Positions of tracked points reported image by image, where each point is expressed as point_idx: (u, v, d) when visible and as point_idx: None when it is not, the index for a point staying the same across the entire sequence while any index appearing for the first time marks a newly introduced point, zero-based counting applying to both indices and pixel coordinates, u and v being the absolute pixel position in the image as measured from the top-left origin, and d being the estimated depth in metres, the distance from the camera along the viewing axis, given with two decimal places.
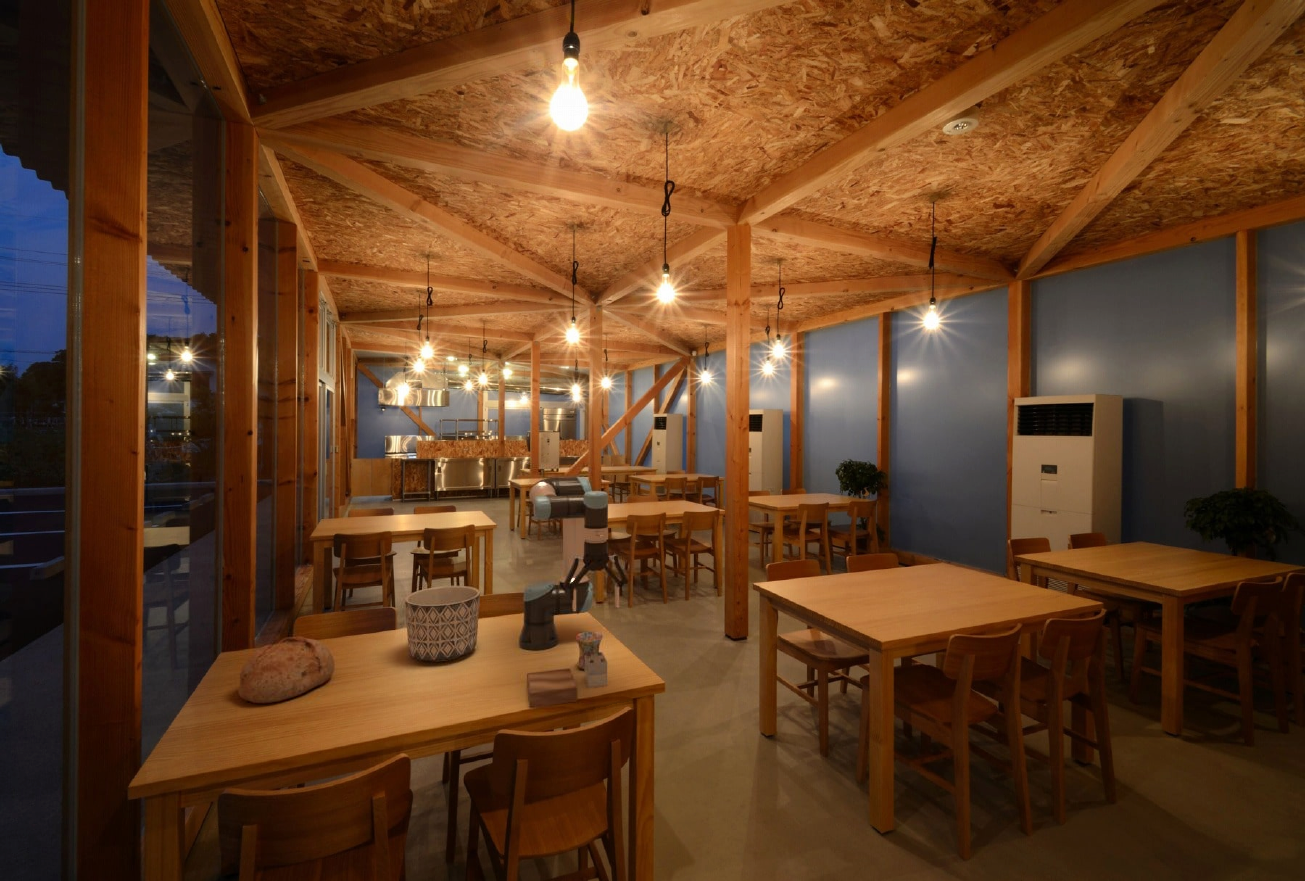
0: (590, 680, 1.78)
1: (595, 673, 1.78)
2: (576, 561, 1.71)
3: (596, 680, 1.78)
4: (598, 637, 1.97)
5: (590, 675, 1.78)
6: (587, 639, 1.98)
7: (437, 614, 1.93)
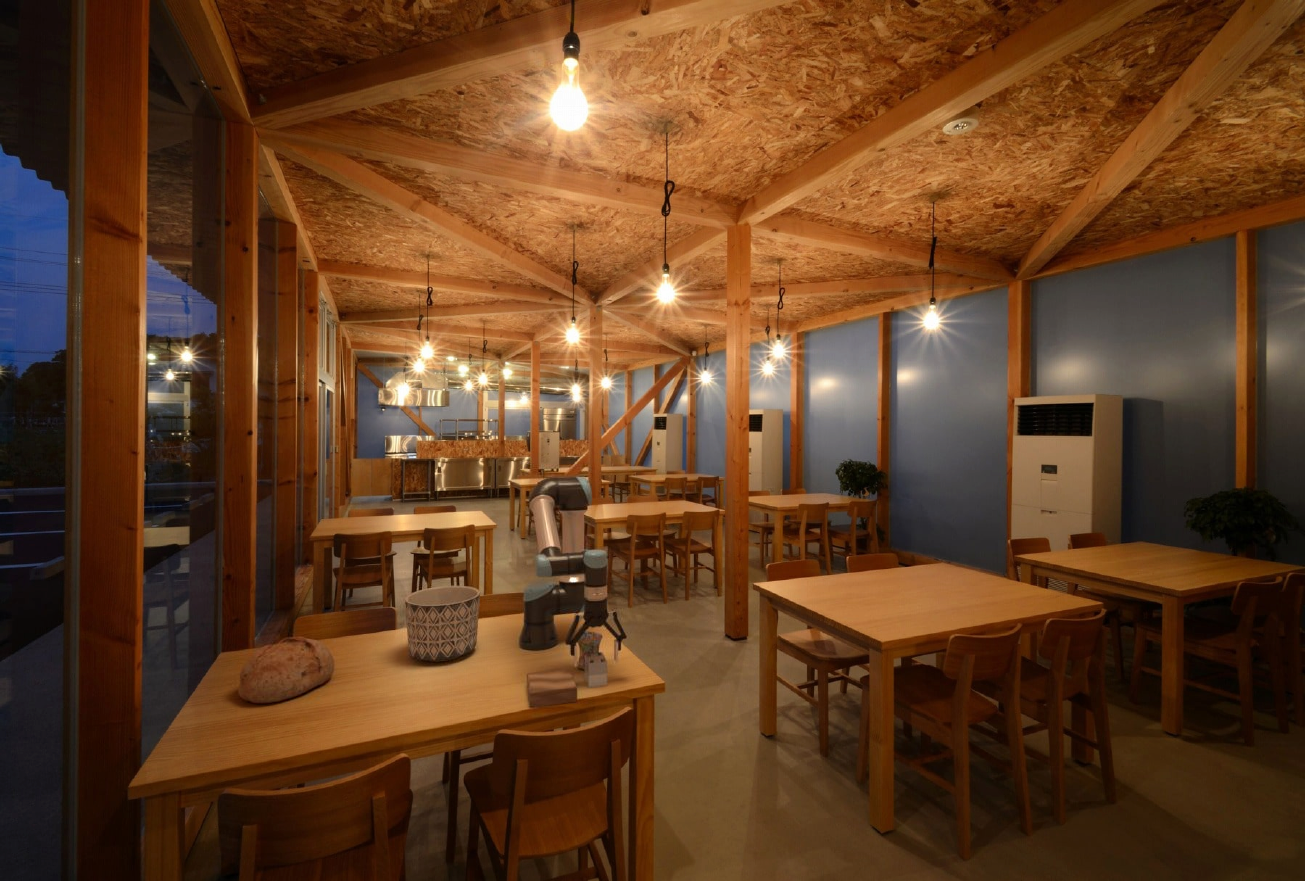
0: (590, 680, 1.78)
1: (595, 673, 1.78)
2: (577, 618, 1.79)
3: (596, 680, 1.78)
4: (598, 637, 1.97)
5: (590, 675, 1.78)
6: (587, 639, 1.98)
7: (437, 614, 1.93)
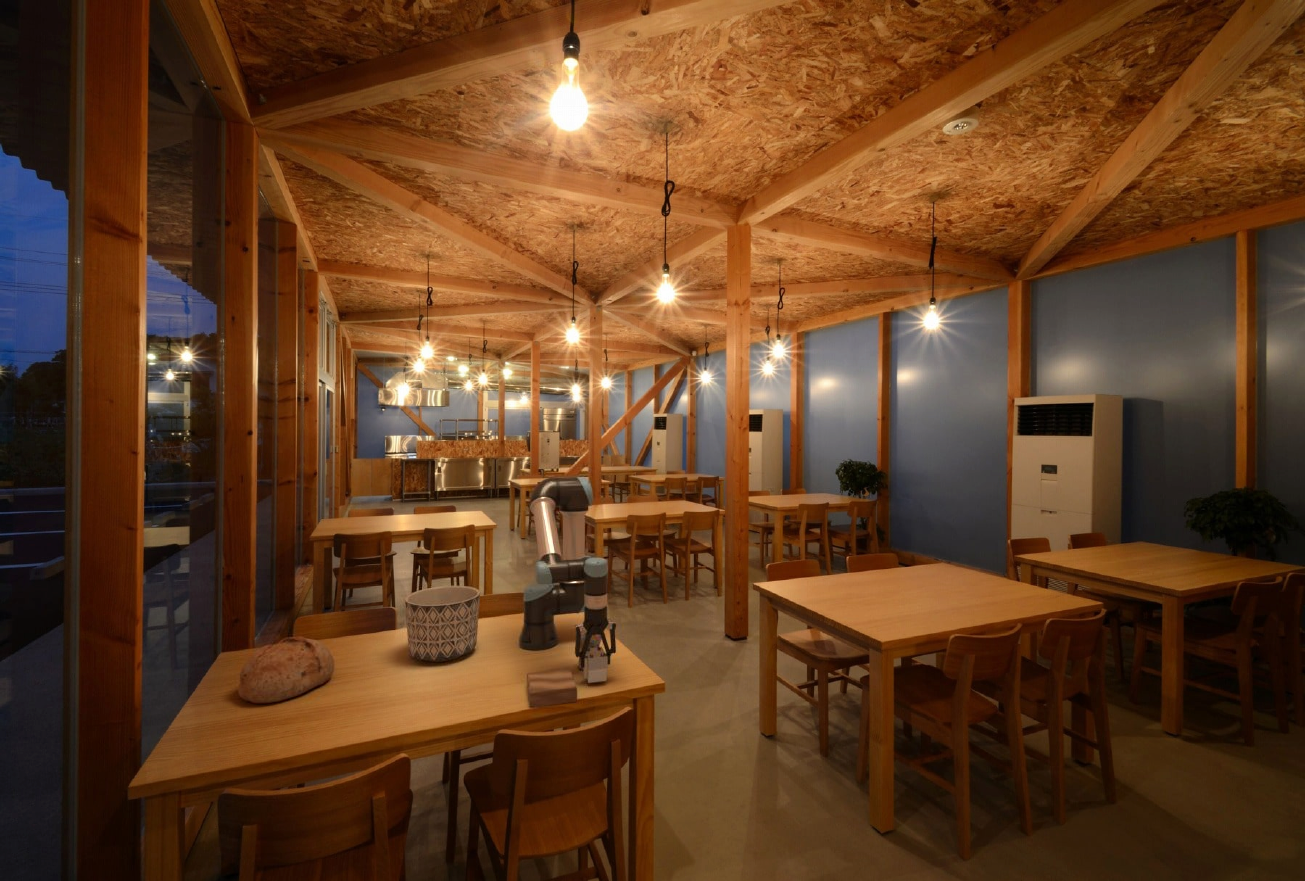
0: (590, 675, 1.78)
1: (595, 668, 1.79)
2: (577, 630, 1.80)
3: (596, 674, 1.79)
4: (598, 637, 1.97)
5: (590, 670, 1.78)
6: None
7: (437, 614, 1.93)
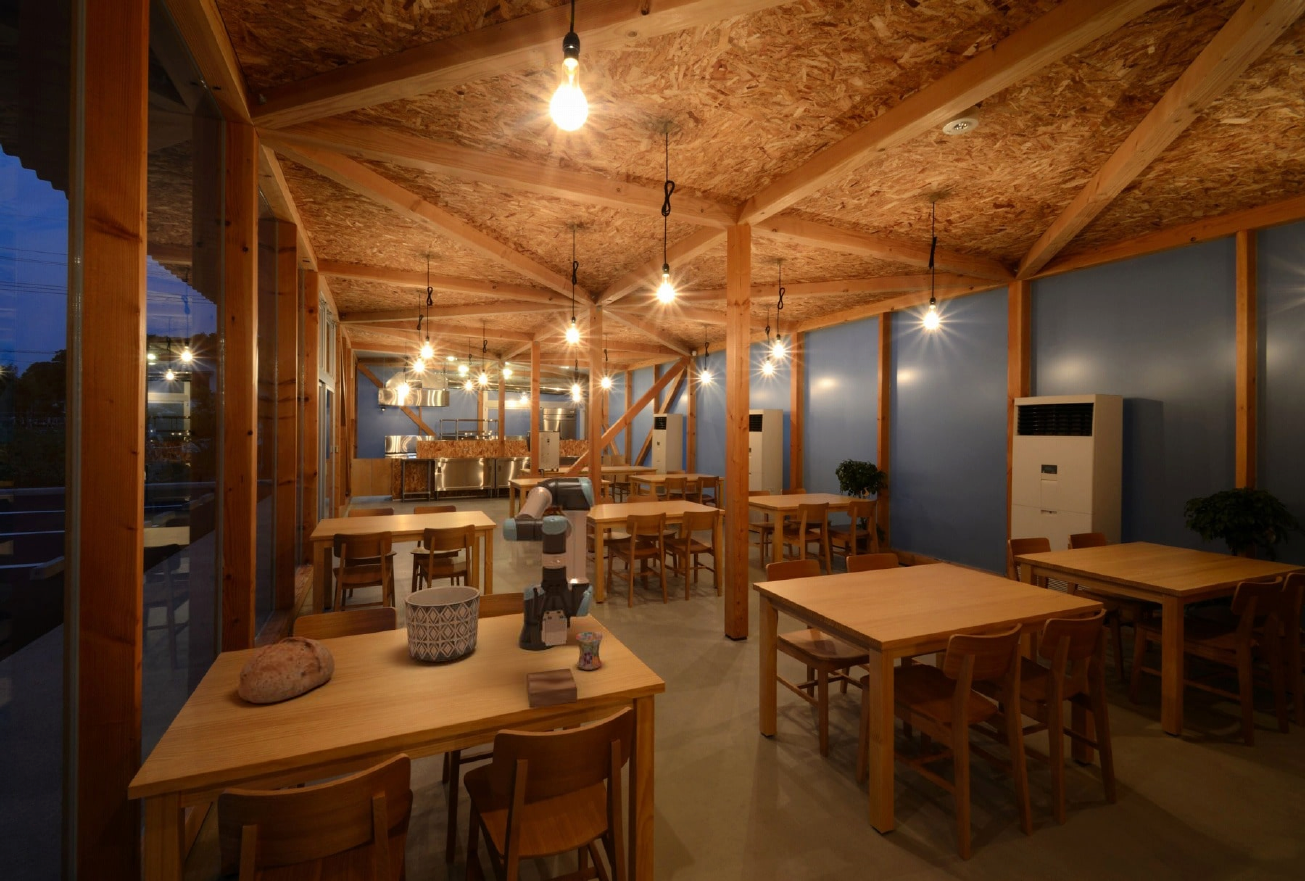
0: (548, 637, 1.70)
1: (553, 630, 1.70)
2: (535, 591, 1.71)
3: (554, 637, 1.70)
4: (598, 637, 1.97)
5: (548, 632, 1.70)
6: (587, 639, 1.98)
7: (437, 614, 1.93)
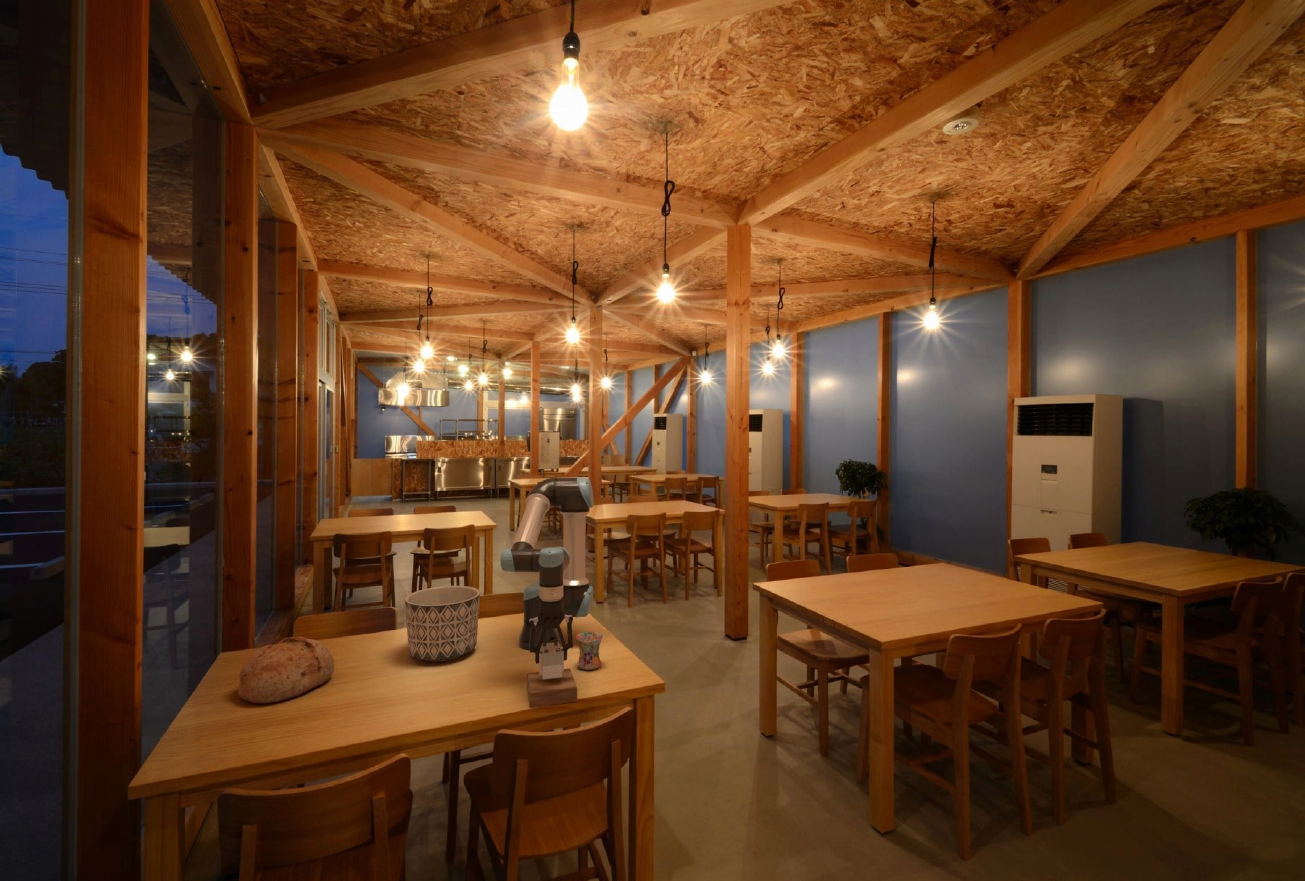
0: (544, 671, 1.69)
1: (550, 663, 1.70)
2: (531, 624, 1.71)
3: (551, 670, 1.70)
4: (598, 637, 1.97)
5: (544, 665, 1.69)
6: (587, 639, 1.98)
7: (437, 614, 1.93)
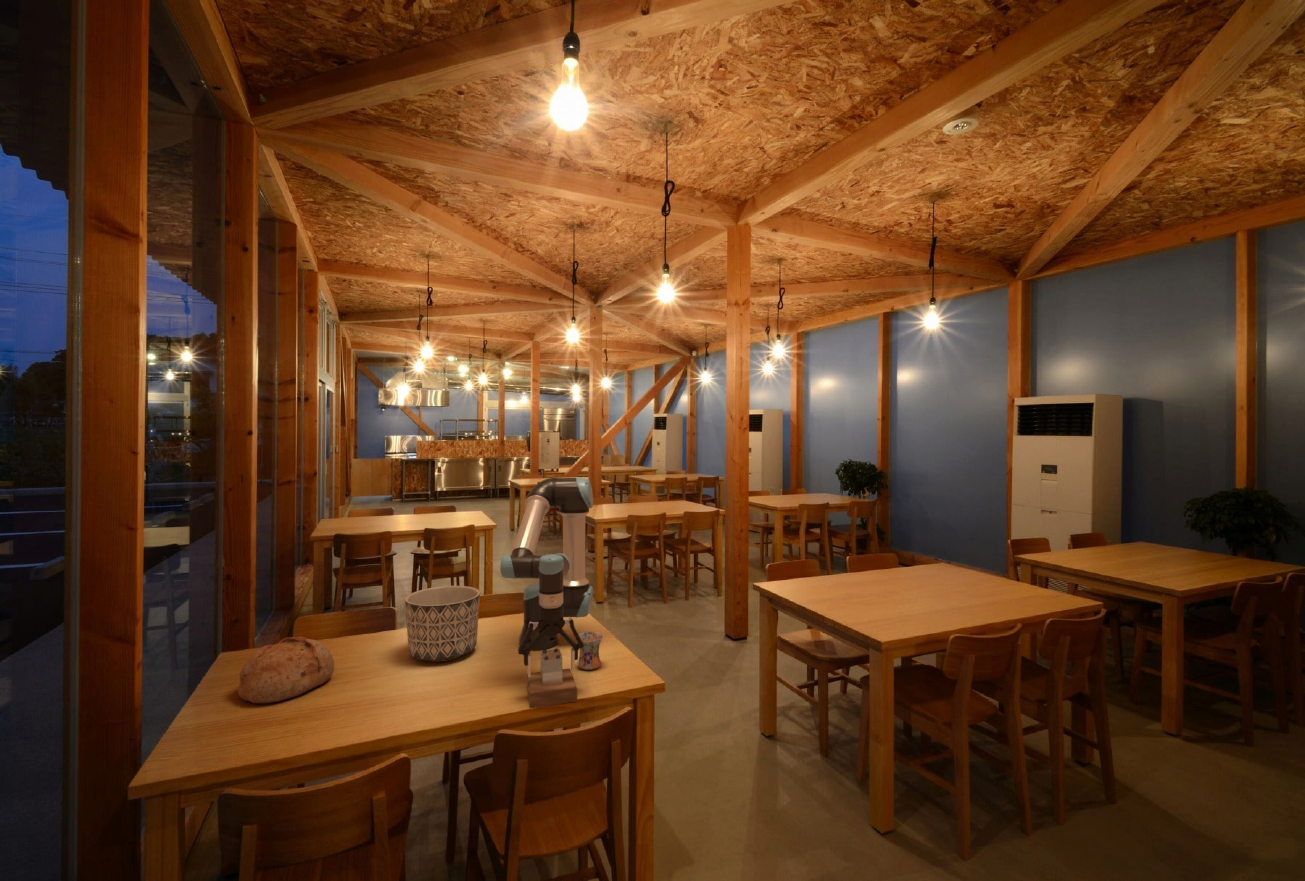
0: (544, 678, 1.69)
1: (550, 670, 1.70)
2: (530, 627, 1.71)
3: (551, 677, 1.70)
4: (598, 637, 1.97)
5: (544, 672, 1.69)
6: (587, 639, 1.98)
7: (437, 614, 1.93)
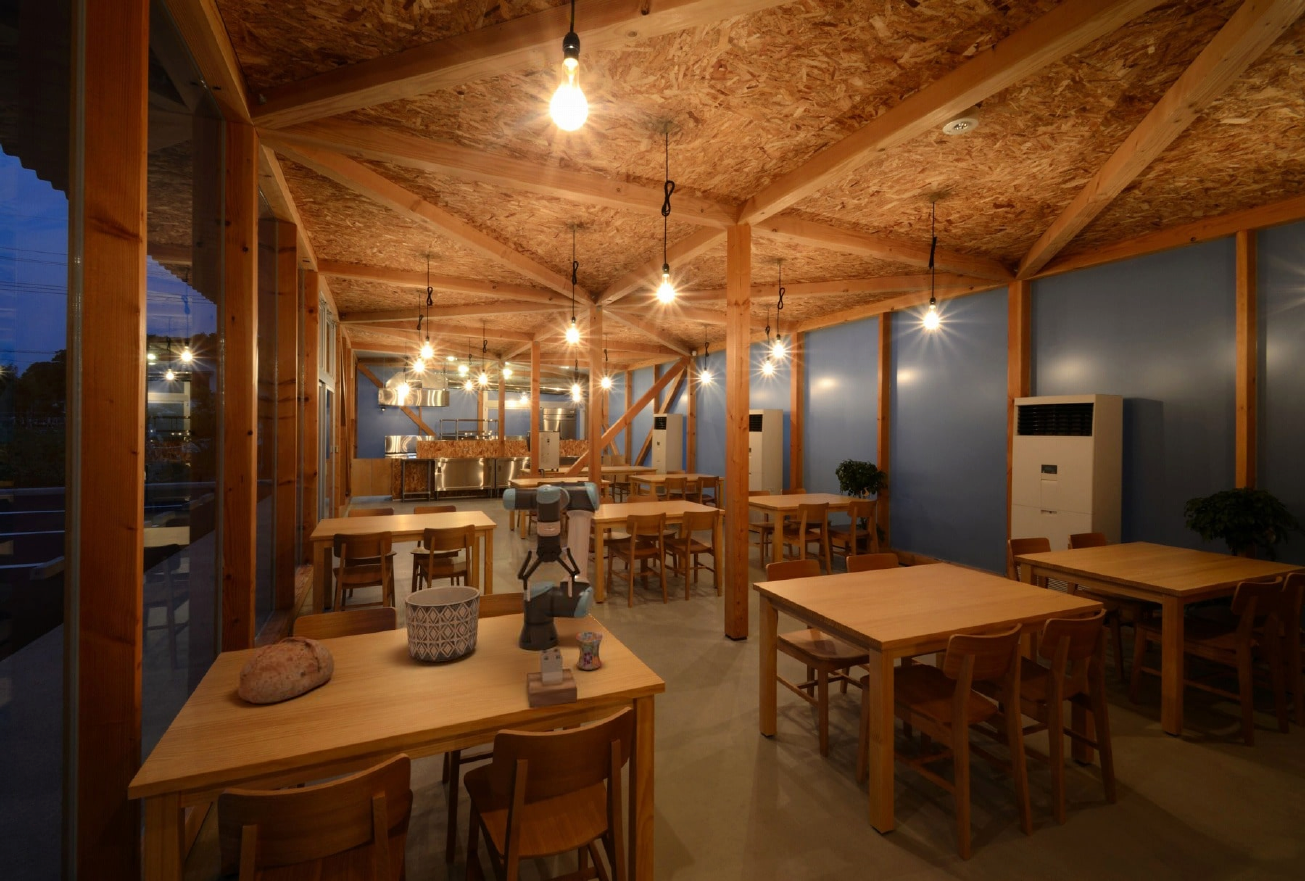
0: (544, 678, 1.69)
1: (550, 670, 1.70)
2: (529, 553, 1.79)
3: (551, 677, 1.70)
4: (598, 637, 1.97)
5: (544, 672, 1.69)
6: (587, 639, 1.98)
7: (437, 614, 1.93)
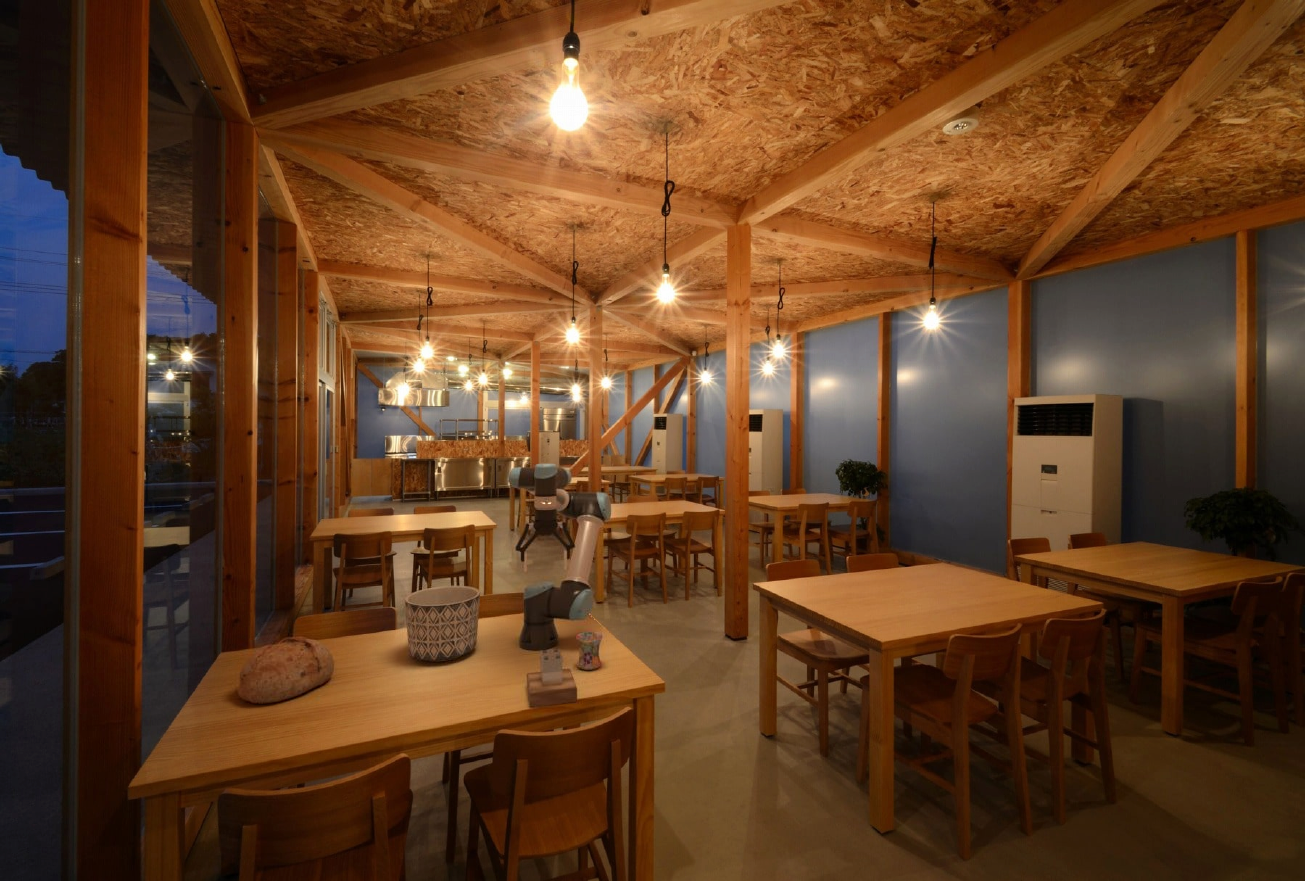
0: (544, 678, 1.69)
1: (550, 670, 1.70)
2: (527, 526, 1.88)
3: (551, 677, 1.70)
4: (598, 637, 1.97)
5: (544, 672, 1.69)
6: (587, 639, 1.98)
7: (437, 614, 1.93)
